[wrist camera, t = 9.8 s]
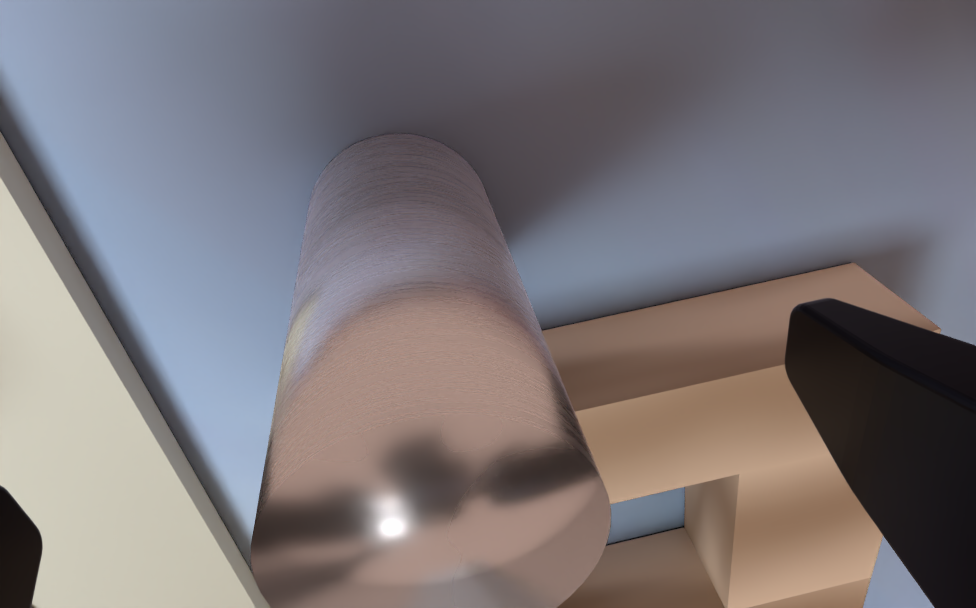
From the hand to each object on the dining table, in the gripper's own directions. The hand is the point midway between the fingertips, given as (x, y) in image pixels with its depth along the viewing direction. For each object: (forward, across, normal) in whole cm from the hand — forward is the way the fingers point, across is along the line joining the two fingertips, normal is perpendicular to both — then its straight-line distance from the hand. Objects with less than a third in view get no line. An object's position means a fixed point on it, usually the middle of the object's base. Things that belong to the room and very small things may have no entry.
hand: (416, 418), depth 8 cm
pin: (+5, 0, 0) cm, 5 cm away
